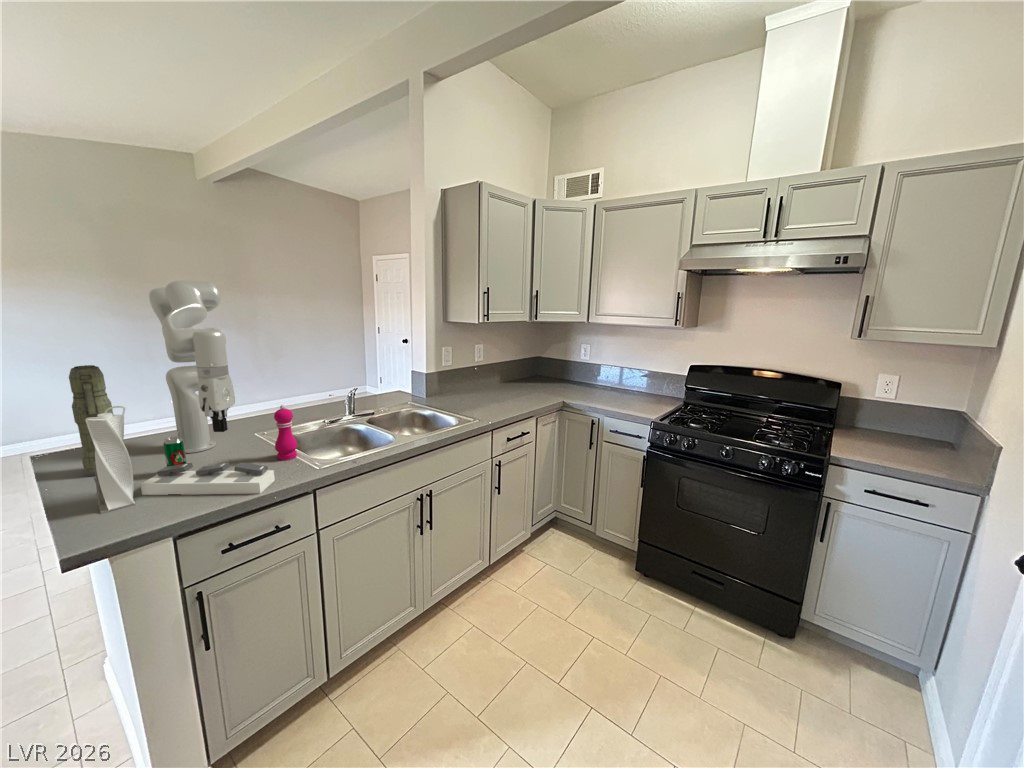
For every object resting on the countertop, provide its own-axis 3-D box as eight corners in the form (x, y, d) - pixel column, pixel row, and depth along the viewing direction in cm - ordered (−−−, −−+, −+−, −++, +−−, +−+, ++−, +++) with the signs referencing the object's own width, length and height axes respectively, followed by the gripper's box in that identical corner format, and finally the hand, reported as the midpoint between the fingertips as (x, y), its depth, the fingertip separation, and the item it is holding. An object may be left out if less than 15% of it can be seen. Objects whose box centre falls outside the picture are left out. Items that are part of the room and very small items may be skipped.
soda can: (171, 470, 136) (166, 436, 133) (190, 468, 137) (185, 435, 135) (165, 476, 131) (159, 441, 129) (184, 474, 133) (179, 440, 130)
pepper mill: (293, 452, 155) (288, 401, 150) (301, 457, 150) (297, 404, 146) (272, 457, 149) (267, 404, 145) (281, 462, 145) (275, 408, 140)
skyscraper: (138, 494, 119) (122, 402, 114) (143, 504, 114) (126, 408, 108) (98, 504, 113) (79, 408, 107) (101, 515, 108) (81, 414, 102)
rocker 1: (158, 477, 123) (156, 471, 123) (167, 472, 127) (165, 466, 126) (185, 473, 124) (183, 467, 123) (193, 468, 127) (191, 462, 127)
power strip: (142, 494, 119) (140, 483, 118) (165, 481, 128) (163, 470, 127) (260, 493, 122) (259, 482, 122) (274, 480, 131) (273, 469, 130)
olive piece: (88, 480, 127) (66, 370, 120) (82, 470, 134) (61, 365, 127) (126, 471, 134) (107, 367, 127) (119, 462, 141) (101, 362, 134)
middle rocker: (197, 477, 124) (195, 471, 124) (204, 472, 128) (203, 466, 127) (224, 472, 125) (222, 466, 124) (230, 467, 128) (229, 462, 128)
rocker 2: (234, 472, 125) (234, 466, 125) (240, 467, 128) (241, 462, 128) (261, 476, 126) (262, 470, 126) (267, 471, 130) (267, 465, 129)
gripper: (210, 376, 113) (218, 439, 117) (240, 368, 128) (246, 423, 132) (182, 376, 113) (190, 439, 116) (215, 367, 127) (222, 423, 131)
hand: (220, 430), depth 124 cm, fingers closed
